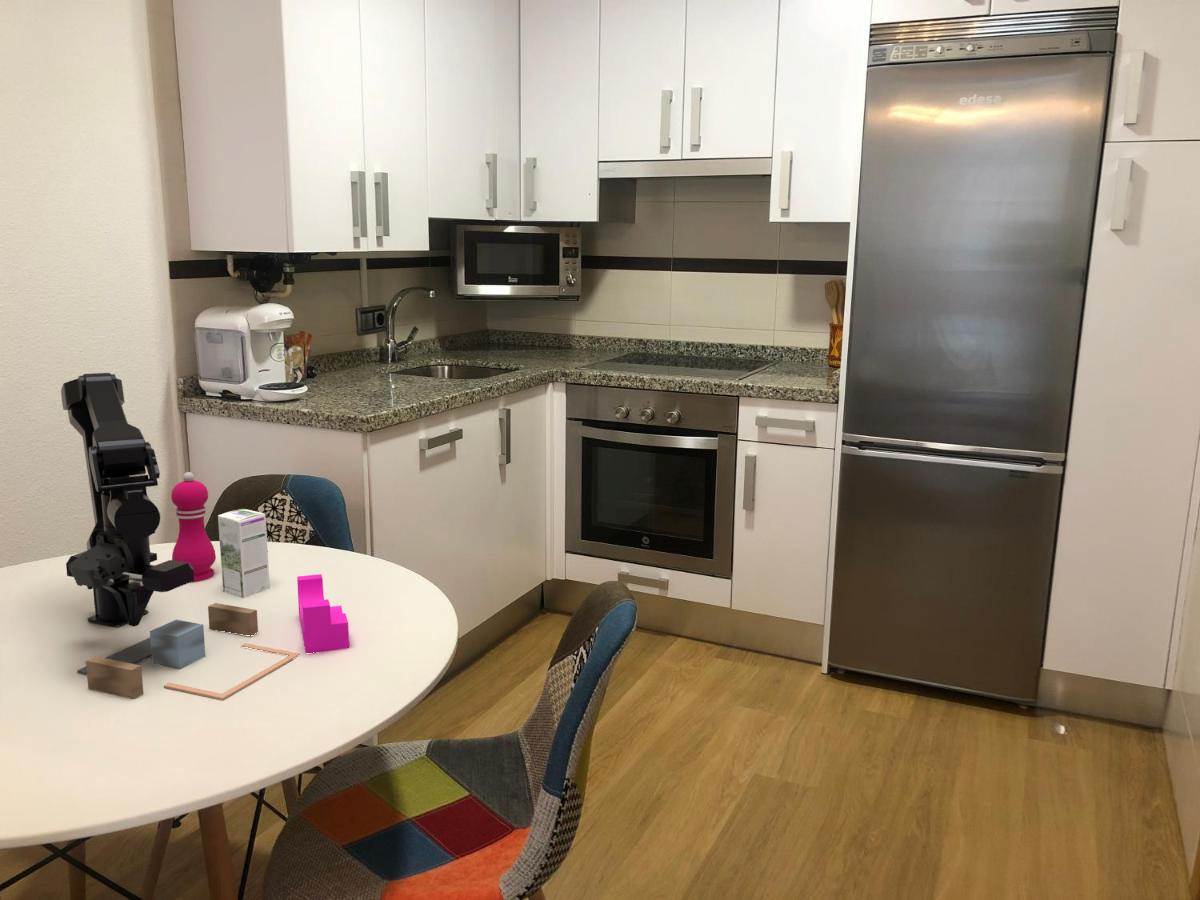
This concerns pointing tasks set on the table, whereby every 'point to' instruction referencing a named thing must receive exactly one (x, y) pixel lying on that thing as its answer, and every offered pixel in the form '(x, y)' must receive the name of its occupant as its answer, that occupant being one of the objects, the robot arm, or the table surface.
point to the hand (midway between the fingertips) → (134, 625)
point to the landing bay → (243, 684)
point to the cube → (177, 644)
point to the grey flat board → (129, 654)
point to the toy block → (320, 617)
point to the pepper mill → (193, 528)
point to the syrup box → (243, 552)
